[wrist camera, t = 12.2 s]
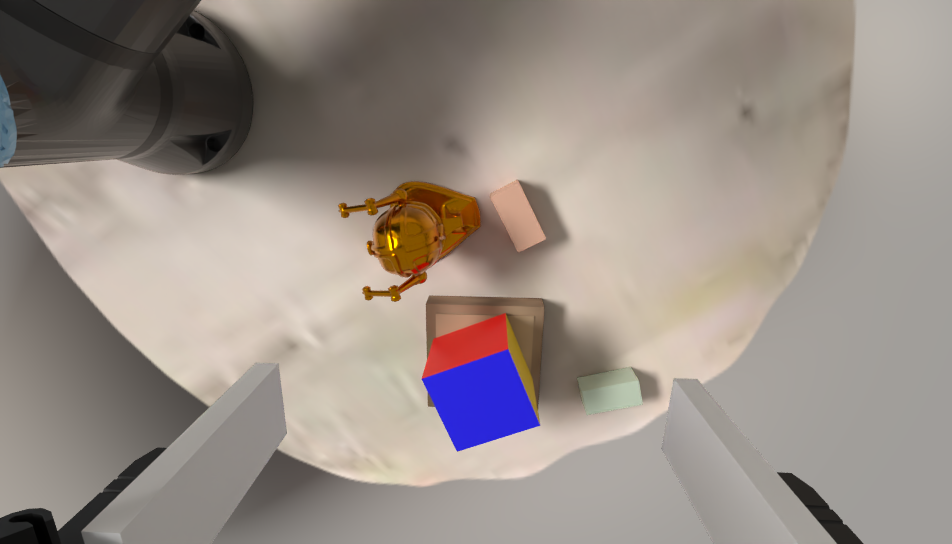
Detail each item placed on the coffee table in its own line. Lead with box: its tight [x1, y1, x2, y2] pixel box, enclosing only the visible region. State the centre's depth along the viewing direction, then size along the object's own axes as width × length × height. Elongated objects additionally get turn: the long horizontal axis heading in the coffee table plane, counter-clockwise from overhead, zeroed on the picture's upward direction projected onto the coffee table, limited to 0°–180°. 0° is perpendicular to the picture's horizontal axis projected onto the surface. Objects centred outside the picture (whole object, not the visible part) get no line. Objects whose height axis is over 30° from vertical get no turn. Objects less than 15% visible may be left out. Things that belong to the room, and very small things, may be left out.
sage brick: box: [577, 367, 643, 415], centre depth 49 cm, size 6×3×3 cm, turn 104°
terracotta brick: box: [490, 180, 546, 253], centre depth 43 cm, size 6×3×3 cm, turn 27°
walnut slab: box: [426, 296, 544, 409], centre depth 48 cm, size 12×12×3 cm
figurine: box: [338, 181, 481, 302], centre depth 39 cm, size 8×11×12 cm
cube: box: [422, 313, 540, 452], centre depth 43 cm, size 8×8×8 cm
